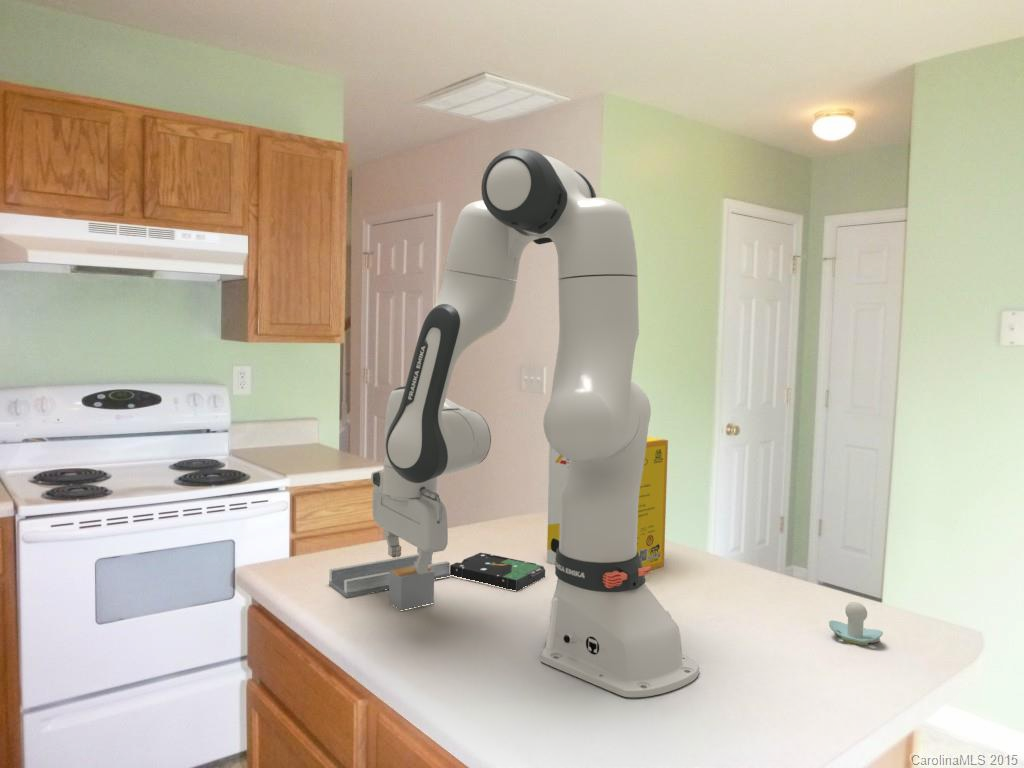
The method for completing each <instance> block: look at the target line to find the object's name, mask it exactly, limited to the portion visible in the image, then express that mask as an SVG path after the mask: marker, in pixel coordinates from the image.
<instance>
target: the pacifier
mask: <svg viewBox="0 0 1024 768" xmlns="http://www.w3.org/2000/svg"><path fill="white" fill-rule="evenodd" d="M844 610H845V615H846V617H847V623H844V622H841V621H837V620H829V622H828V626H829V628H830V630H831V631H833V632H834V634H836V635H838V636H839V637H840V638H841V640H843V642H846V643H850V644H855V645H860V646H861V645H862V646H863V645H864V646H867V645H869V643H871V644H873V643H875V644H876V643H878V642H880V641H881V639H880V638H881V637H882V636H883V634H884V633H883V631H882V630H879V629H871V628H864V621H866V619H867V617H868V610H867V609H866V607H865V606H864V605H863V604H862V603H860V602H857V601H852V602H848V603H847V605H846V606H845V609H844Z"/></svg>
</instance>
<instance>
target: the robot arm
mask: <svg viewBox="0 0 1024 768" xmlns="http://www.w3.org/2000/svg"><path fill="white" fill-rule="evenodd" d="M480 188H481V189H480V190H481V197H482V199H480V200H477V201H472V202H471V203H468V204H467V205H465V206H464V207H463V208H462V210H461V211H460V213H459V215H458V218H457V220H456V223H455V226H454V228H453V231H452V236H451V238H450V239H451V240H450V244H449V246H448V247H449V248H448V252H447V257H446V262H445V267H444V268H445V269H444V273H443V279H442V283H441V287H440V290H439V293H438V296H437V298H436V301H435V303H434V305H433V307H432V309H431V310H430V311H429V313H428V314H427V316H426V317H425V320H424V322H423V323H422V326H421V329H420V333H419V336H418V339H417V342H416V346H415V350H414V353H413V357H412V361H411V365H410V368H409V372H408V376H407V379H406V383H405V385H403V386H398V387H396V388H395V389H393V390H392V391H391V392H390V394H389V397H388V400H387V404H386V411H385V421H384V441H385V451H386V452H385V453H386V454H385V456H384V459H383V468H382V469H379V470H376V471H373V472H371V474H370V475H371V476H370V477H371V478H370V482H371V484H372V485H373V488H372V517H373V521H374V524H376V525H377V526H379V527H380V528H383V529H384V536H385V538H386V543H387V555H388V556H390V557H391V558H398V557H402V546H401V545H400V539H402V540H404V541H405V542H407V543H408V544H410V545H412V546H414V547H416V548H417V550H416V554H419V556H418V559H417V561H414V571H416V572H417V573H419V574H425V573H427V572H428V562H429V561H430V559H431V556H432V557H433V554H434V553H437V552H444V551H445V550H446V548H447V546H448V545H449V544H448V543H449V542H448V540H449V534H448V533H449V532H448V528H449V527H448V514H447V509H446V506H445V504H444V503H443V501H442V500H441V498H440V495H439V493H438V492H437V491H438V477H439V476H443V475H446V474H447V475H448V474H451V473H455V472H458V471H462V470H466V469H469V468H473V467H474V466H475V467H476V465H479V464H480V463H482V462H483V461H485V459H486V458H487V456H488V454H489V451H490V449H491V443H492V436H491V431H490V427H489V425H488V423H487V421H486V420H485V418H484V417H483V416H482V415H481V414H480V413H479V412H477V411H475V410H472V409H468V408H466V407H464V406H462V405H459V404H457V403H455V402H454V401H452V400H451V399H449V398H447V395H448V391H449V386H450V383H451V379H452V375H453V372H454V368H455V365H456V363H457V362H458V359H459V358H460V357H461V355H462V354H463V353H464V352H465V351H466V349H467V348H469V347H470V346H471V345H473V344H474V343H475V342H476V341H478V340H479V339H481V338H483V337H485V336H487V335H489V334H491V333H493V332H494V331H496V330H497V329H499V328H500V327H501V326H502V325H503V324H504V323H505V322H506V321H507V318H508V316H509V314H510V312H511V310H512V305H513V304H514V303H513V302H514V299H515V293H516V287H517V280H518V274H519V268H520V262H521V257H522V255H523V252H524V250H525V249H526V247H527V246H529V244H530V243H531V242H533V243H535V244H536V245H542V244H548V243H553V244H554V247H555V249H556V253H557V268H558V269H557V274H558V276H557V278H558V279H557V280H558V281H557V282H558V319H559V320H558V321H559V322H558V325H559V326H558V327H559V328H558V329H559V331H558V332H559V333H558V335H559V336H558V344H557V345H558V347H557V353H556V360H555V367H554V372H553V377H552V378H553V379H552V386H551V392H550V393H551V395H550V400H549V402H548V404H547V406H546V408H545V411H544V416H543V431H544V435H545V438H546V440H547V442H548V444H550V445H551V446H552V448H553V449H554V450H555V451H556V452H557V453H559V454H560V455H562V456H563V457H565V458H568V459H570V463H569V468H568V473H567V477H566V481H565V484H564V487H563V489H562V492H561V497H560V530H559V548H558V549H557V550H556V558H555V565H554V566H555V570H554V574H555V576H556V577H557V582H556V585H555V590H554V594H553V596H552V599H551V602H550V603H551V605H550V612H549V620H548V630H547V636H546V640H545V647H544V648H543V649H542V651H541V654H540V655H541V656H540V657H541V658H540V661H541V662H542V663H543V664H545V665H547V666H549V667H550V666H551V668H552V667H553V668H555V669H556V670H560V671H562V672H565V673H567V674H569V675H572V676H574V677H577V678H579V679H582V680H583V681H585V682H588V683H591V684H593V685H595V686H598V687H600V688H602V689H605V690H606V691H609V692H612V693H614V694H616V695H619V696H621V697H625V698H644V697H645V698H646V697H652V696H657V695H661V694H665V693H668V692H671V691H675V690H677V689H680V688H682V687H685V686H686V685H688V684H690V683H691V682H693V681H694V680H696V678H697V677H698V676H699V674H700V665H699V664H698V663H697V662H695V661H694V660H693V659H691V658H690V657H688V656H686V655H685V654H684V653H682V652H683V651H682V639H681V637H682V636H681V632H680V629H679V626H678V624H677V622H675V620H674V619H673V618H672V615H671V614H670V612H669V611H668V610H666V609H665V608H664V607H663V605H662V604H661V603H660V601H659V600H658V599H657V597H656V596H655V595H654V593H653V592H652V591H651V590H650V588H649V587H648V586H647V584H646V580H647V579H646V576H647V575H651V574H652V573H651V572H650V571H647V570H649V569H650V568H651V566H647V567H642V563H641V559H640V556H639V553H638V552H637V526H638V501H639V491H640V484H641V479H642V473H643V466H644V460H645V452H646V444H647V437H648V434H649V433H648V432H649V424H650V421H651V415H652V414H651V412H652V410H651V403H650V400H649V398H648V396H647V394H646V392H644V390H643V389H642V388H641V387H640V386H639V385H638V384H636V383H635V382H634V381H632V374H633V367H634V359H635V352H636V345H637V341H638V340H639V331H640V329H639V327H640V326H639V325H640V324H639V321H640V320H639V283H638V282H639V281H638V262H637V261H638V259H637V251H636V250H637V249H636V243H635V237H634V230H633V226H632V221H631V217H630V214H629V212H628V210H627V209H626V208H625V206H624V205H622V204H621V203H620V202H618V201H615V200H613V199H610V198H606V197H597V194H596V191H595V190H594V187H593V185H592V183H591V182H590V181H589V180H588V178H586V177H585V175H583V174H582V173H581V172H579V171H577V170H574V169H573V168H571V167H570V166H568V165H566V163H564V162H562V161H561V160H560V159H557V158H555V157H552V156H549V155H546V154H542V153H540V152H539V151H536V150H533V149H529V148H514V149H512V148H511V149H509V150H506V151H503V152H501V153H500V154H497V156H495V157H494V158H493V159H492V160H491V161H490V162H489V163H488V165H487V167H486V168H485V170H484V174H483V176H482V180H481V187H480ZM399 538H400V539H399ZM645 571H647V572H645Z"/></svg>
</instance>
